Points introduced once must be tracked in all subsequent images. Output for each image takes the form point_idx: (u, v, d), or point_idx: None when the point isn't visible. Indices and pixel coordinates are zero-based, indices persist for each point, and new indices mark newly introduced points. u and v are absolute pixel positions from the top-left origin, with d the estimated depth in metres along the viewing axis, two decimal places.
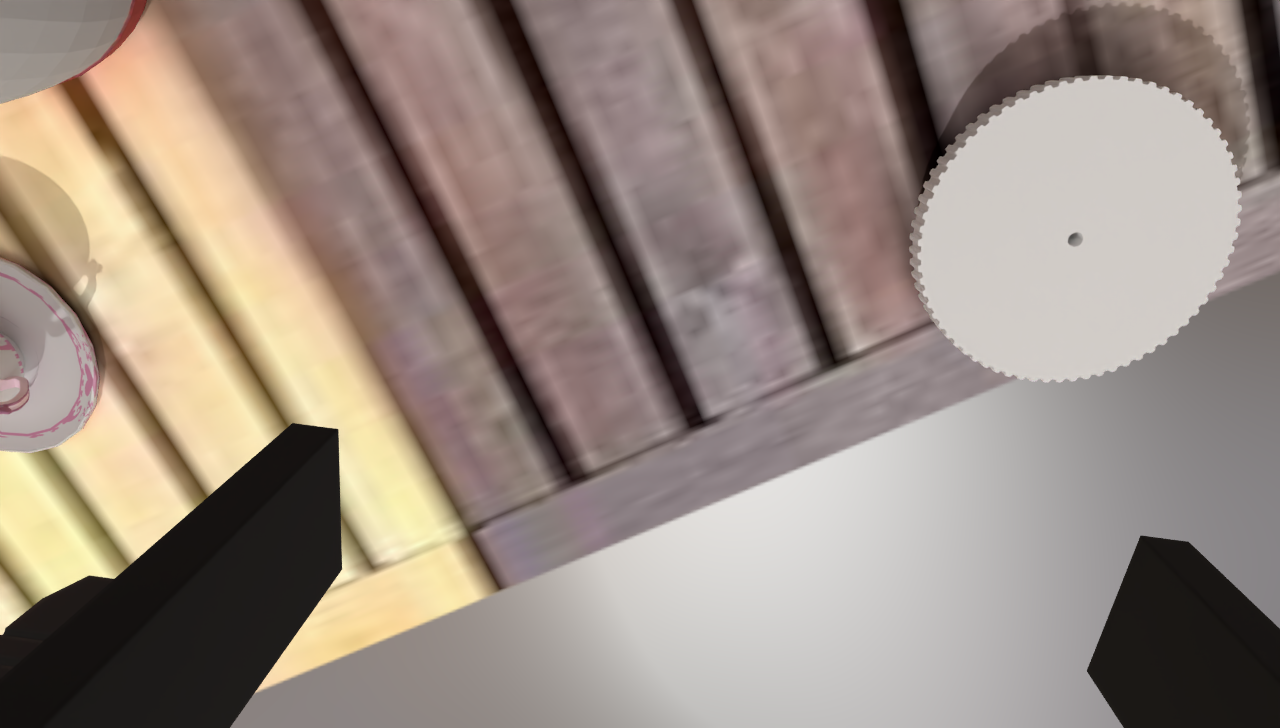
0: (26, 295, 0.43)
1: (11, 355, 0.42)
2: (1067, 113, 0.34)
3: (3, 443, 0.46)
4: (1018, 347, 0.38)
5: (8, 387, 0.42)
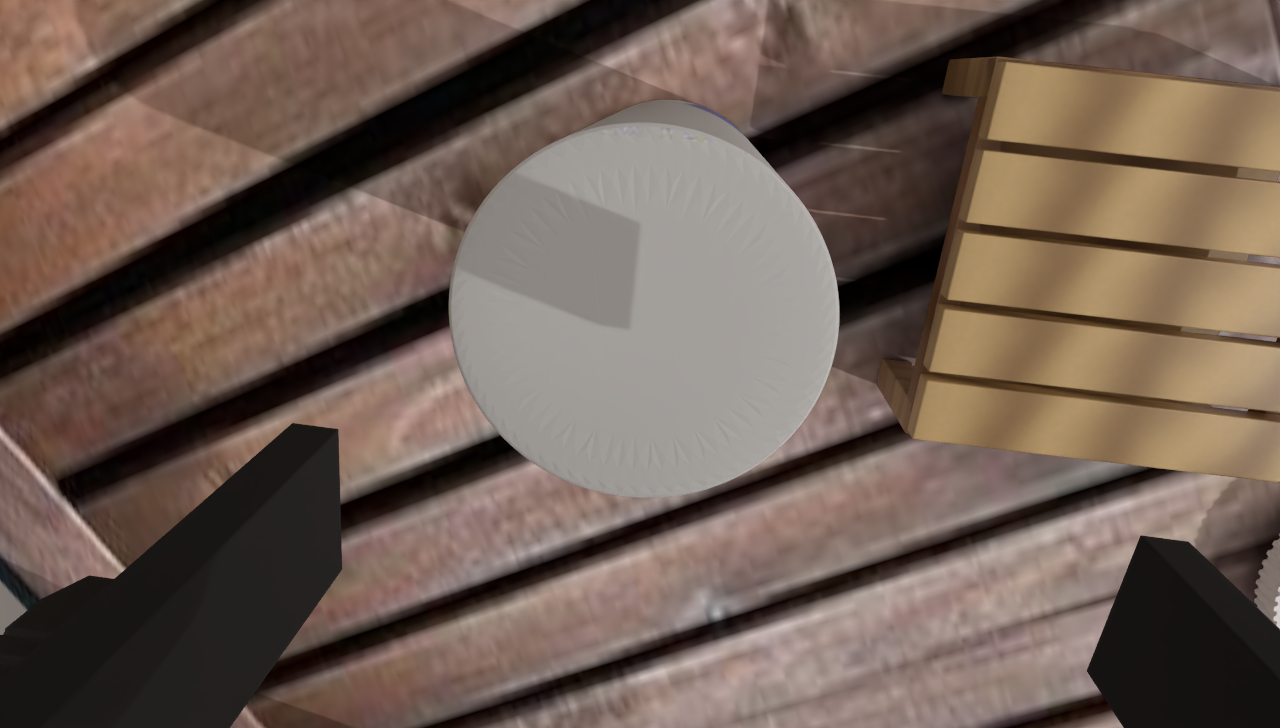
0: None
1: None
2: None
3: None
4: None
5: None
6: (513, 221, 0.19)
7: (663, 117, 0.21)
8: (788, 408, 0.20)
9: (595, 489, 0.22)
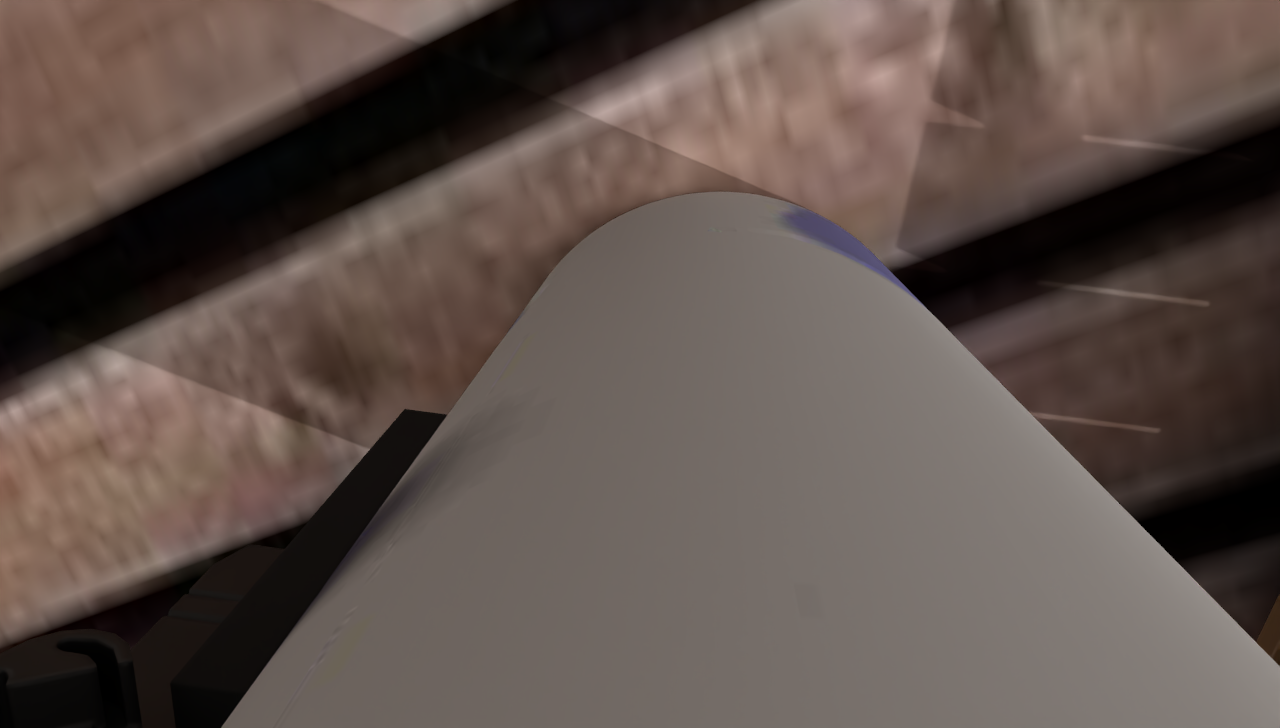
0: None
1: None
2: None
3: None
4: None
5: None
6: None
7: None
8: None
9: None
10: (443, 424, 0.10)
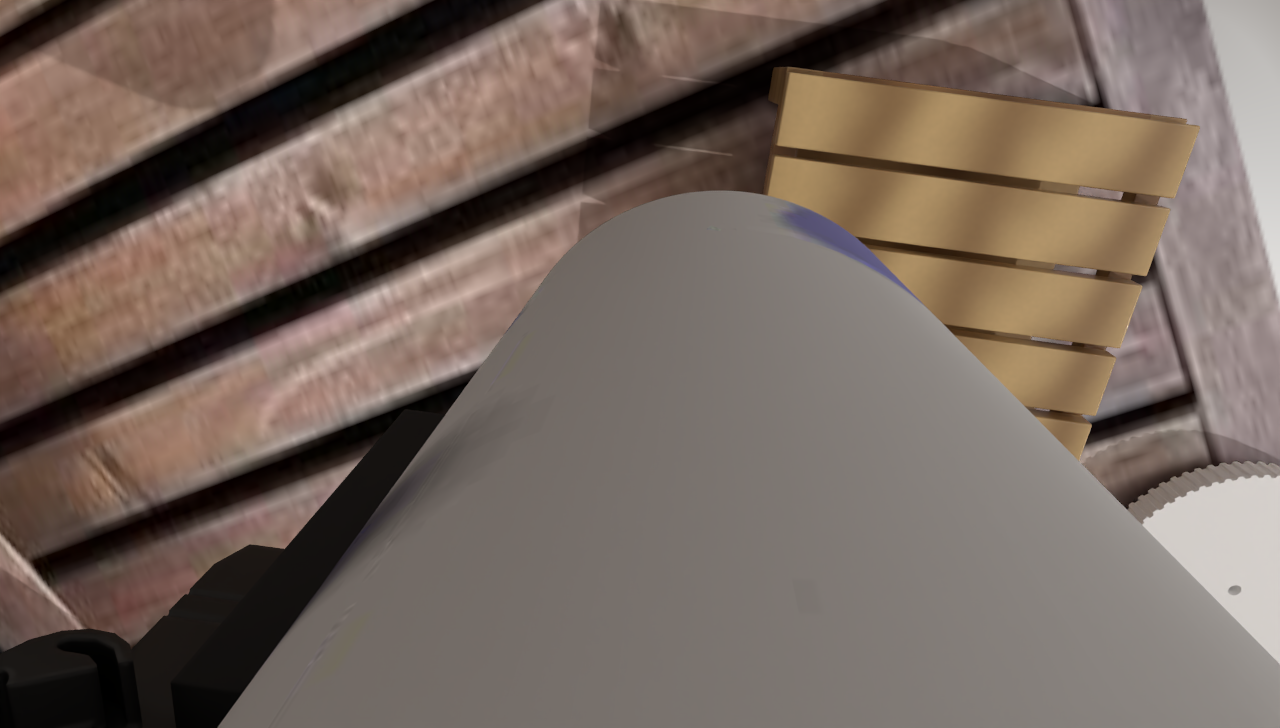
0: None
1: None
2: None
3: None
4: None
5: None
6: None
7: None
8: None
9: None
10: (442, 422, 0.10)
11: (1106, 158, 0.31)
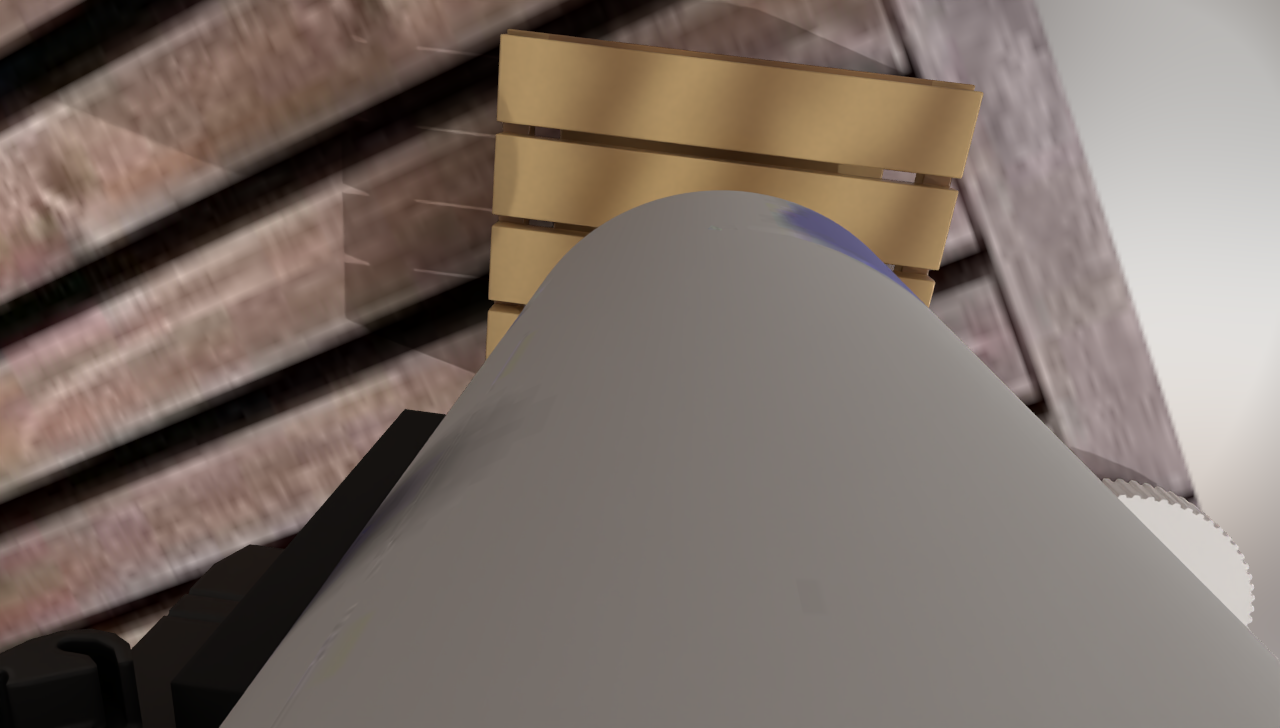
0: None
1: None
2: None
3: None
4: None
5: None
6: None
7: None
8: None
9: None
10: (443, 422, 0.10)
11: (878, 132, 0.26)
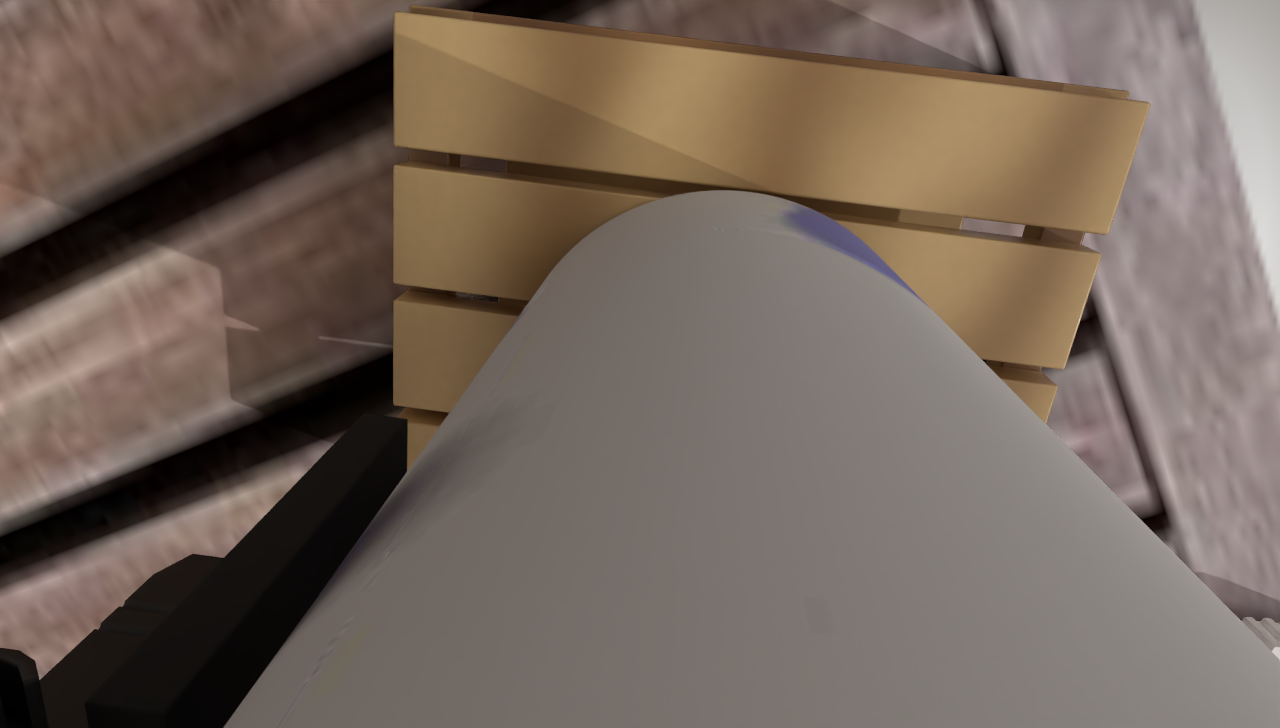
0: None
1: None
2: None
3: None
4: None
5: None
6: None
7: None
8: None
9: None
10: (442, 426, 0.10)
11: (981, 164, 0.17)
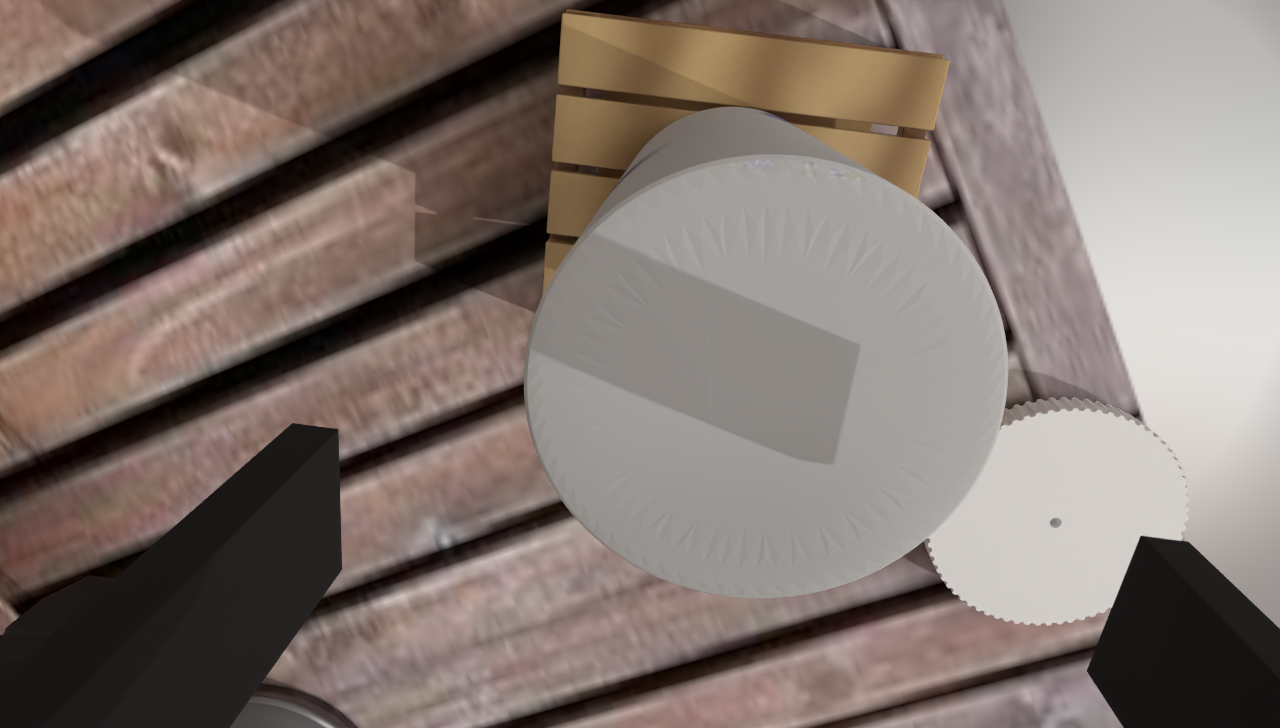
0: None
1: None
2: (952, 540, 0.45)
3: None
4: None
5: None
6: (610, 272, 0.16)
7: (784, 142, 0.17)
8: (935, 500, 0.17)
9: (691, 587, 0.18)
10: None
11: (865, 92, 0.33)
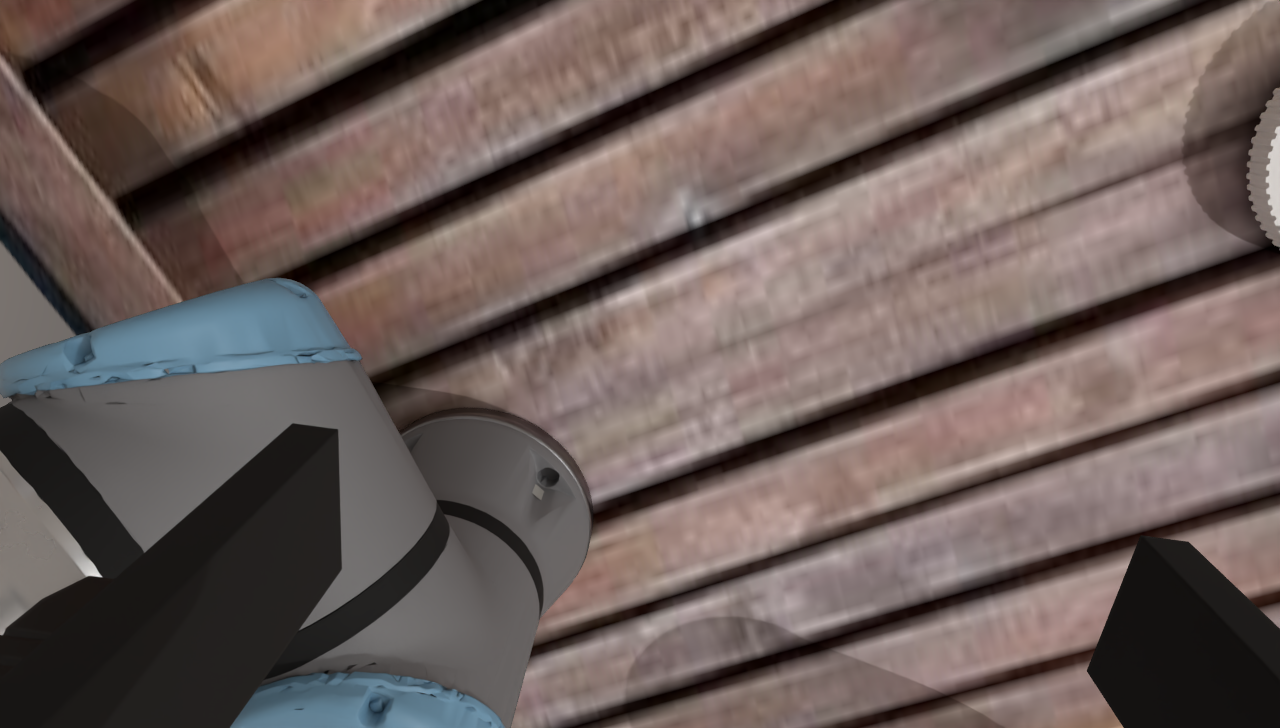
0: None
1: None
2: None
3: None
4: None
5: None
6: None
7: None
8: None
9: None
10: None
11: None
